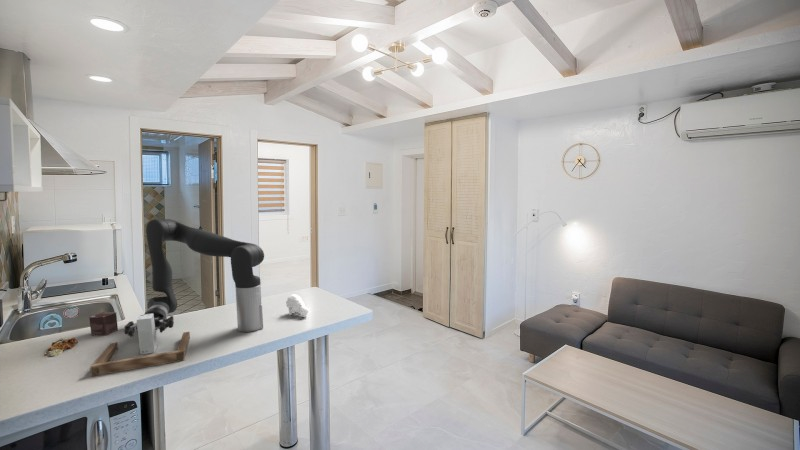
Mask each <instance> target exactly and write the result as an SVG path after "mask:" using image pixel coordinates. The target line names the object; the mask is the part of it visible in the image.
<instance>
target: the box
mask: <svg viewBox="0 0 800 450" xmlns="http://www.w3.org/2000/svg"><path fill="white" fill-rule="evenodd" d="M89 326H90V333H91V334H90V335H91V336H107V335H110V334H112V333H114V332H116V331H118V330H119V327H118V316H117V312H115V311H114V312H113V311H111V312H109V311H107V312H106V311H101V312H99V313H96V314H94V315H92V316H90V317H89Z"/></svg>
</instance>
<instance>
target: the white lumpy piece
mask: <svg viewBox="0 0 800 450" xmlns="http://www.w3.org/2000/svg"><path fill="white" fill-rule="evenodd" d="M285 303H286V307H287V309H288V315H289V316H292V315H293V313H297V314H298V316H299V317H300V318H306V317H307V315H308V313H309V309H308V307H306V304H305V303H304V301H303V299H302V297H301V296H299V295H298V294H297V293H296V294H295V293H294V294H290V295H289V296H288V297H287V300H286V302H285Z"/></svg>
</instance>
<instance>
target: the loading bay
mask: <svg viewBox="0 0 800 450" xmlns="http://www.w3.org/2000/svg"><path fill="white" fill-rule="evenodd" d="M190 338H191V333H190V331H185V332H182V336H181V339H180V340H179V341H180V342H179V344H178V347H177V350H172V351H167V352H160V353H154V354H149V355H147V354H146V355H143V356H142V355H141V356H136V357H129V358H123V359H118V360H111V359H113V357H114V356H115V354H116V352H118V350H119V344H118V342H117V341H116V342H110V343H109V344H108V345H107V347H106V348H105V349H104V350H103V352H102V353H101V354H100V355H99V357H98V358H97V359H96V361H94V363H93V364H91V365H90V373H91V374H90V375H91V377H95V376H99V375H100V376H101V375H106V374H111V373H112V374H113V373H117V372H118V373H119V372H124V371H130V370H134V369H141V368H142V369H143V368H145V367H147V368H148V367H152V366H158V365H159V366H160V365H164V364H170V363H176V362H182V361H185V358H186V353H187V350H188V346H189V344H190V343H189V342H190V341H191V340H190Z"/></svg>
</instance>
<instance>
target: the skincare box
mask: <svg viewBox="0 0 800 450" xmlns="http://www.w3.org/2000/svg"><path fill="white" fill-rule="evenodd" d="M144 314H145V313H144ZM144 314H140V315H139V316H138V317H137V319H136V323H137V329H138V332H137V336H138V346H139V354H140V355H147V354H152V353H154V354H155V353H156V350H157V348H158V341H157V339H158V338H157V332H156V331H157V330H155V322H154V314H153V313H152V314H145V315H144Z"/></svg>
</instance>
